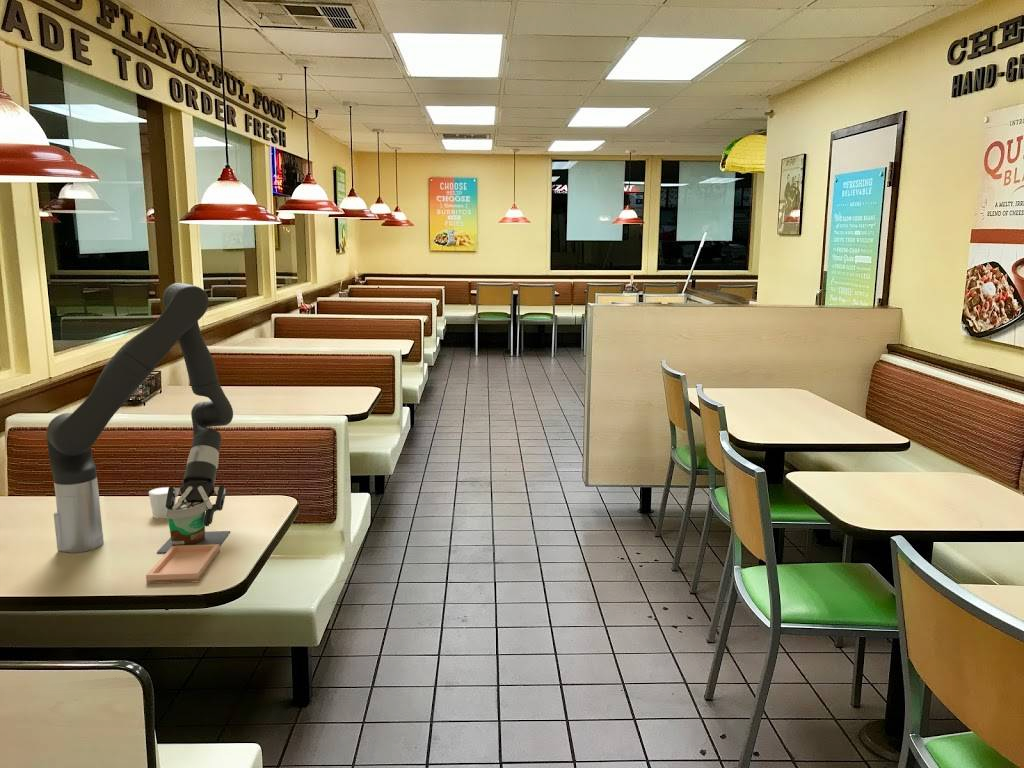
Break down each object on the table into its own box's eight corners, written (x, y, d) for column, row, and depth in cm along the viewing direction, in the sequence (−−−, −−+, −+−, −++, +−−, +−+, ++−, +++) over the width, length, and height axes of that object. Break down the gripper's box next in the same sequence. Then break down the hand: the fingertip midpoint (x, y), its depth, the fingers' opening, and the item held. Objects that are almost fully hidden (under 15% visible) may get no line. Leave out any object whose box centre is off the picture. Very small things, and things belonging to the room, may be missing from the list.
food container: (191, 551, 187) (188, 512, 185) (168, 549, 188) (165, 510, 186) (219, 532, 199) (217, 495, 197) (198, 530, 200) (195, 494, 198)
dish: (146, 583, 170) (145, 575, 169) (173, 553, 186) (172, 545, 186) (198, 581, 170) (197, 573, 170) (219, 551, 187) (219, 544, 187)
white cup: (171, 518, 210) (168, 494, 209) (146, 518, 210) (143, 494, 209) (181, 510, 217) (180, 486, 216) (157, 510, 217) (155, 486, 216)
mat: (156, 553, 186) (156, 552, 186) (175, 533, 199) (174, 532, 199) (216, 551, 188) (216, 550, 188) (230, 531, 200) (230, 530, 200)
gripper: (169, 460, 197) (155, 519, 187) (226, 459, 198) (216, 518, 188) (177, 474, 203) (165, 532, 193) (233, 473, 204) (224, 531, 195)
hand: (190, 525), depth 191 cm, fingers closed on food container, 7 cm apart
